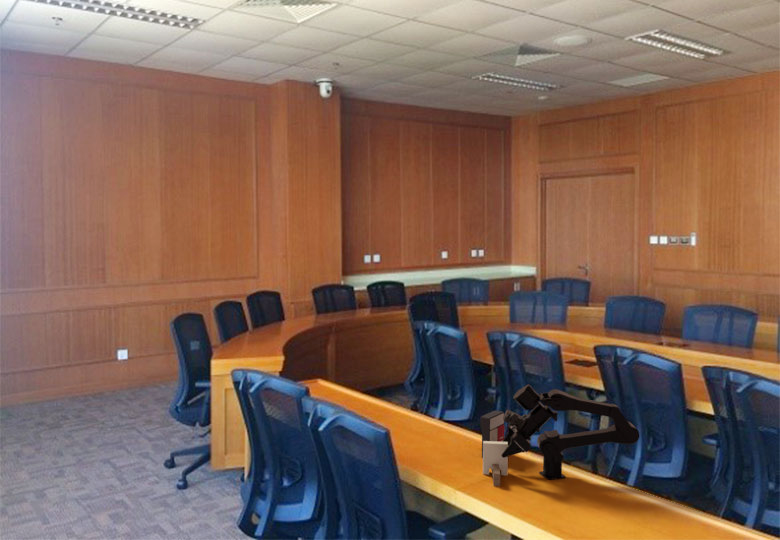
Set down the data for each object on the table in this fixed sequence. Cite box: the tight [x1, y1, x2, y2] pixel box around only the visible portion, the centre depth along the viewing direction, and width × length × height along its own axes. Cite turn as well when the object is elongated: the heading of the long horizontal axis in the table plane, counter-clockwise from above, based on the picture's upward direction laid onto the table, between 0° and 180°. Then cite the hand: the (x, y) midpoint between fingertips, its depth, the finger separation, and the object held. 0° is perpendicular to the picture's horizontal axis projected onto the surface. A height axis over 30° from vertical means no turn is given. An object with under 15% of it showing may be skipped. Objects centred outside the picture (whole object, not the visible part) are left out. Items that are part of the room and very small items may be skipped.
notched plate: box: [482, 441, 509, 476], centre depth 221 cm, size 8×2×10 cm, turn 84°
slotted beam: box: [491, 464, 501, 487], centre depth 222 cm, size 22×2×4 cm, turn 174°
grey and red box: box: [480, 410, 505, 459], centre depth 239 cm, size 11×4×15 cm, turn 143°
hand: (501, 451), depth 221 cm, fingers open, 9 cm apart
